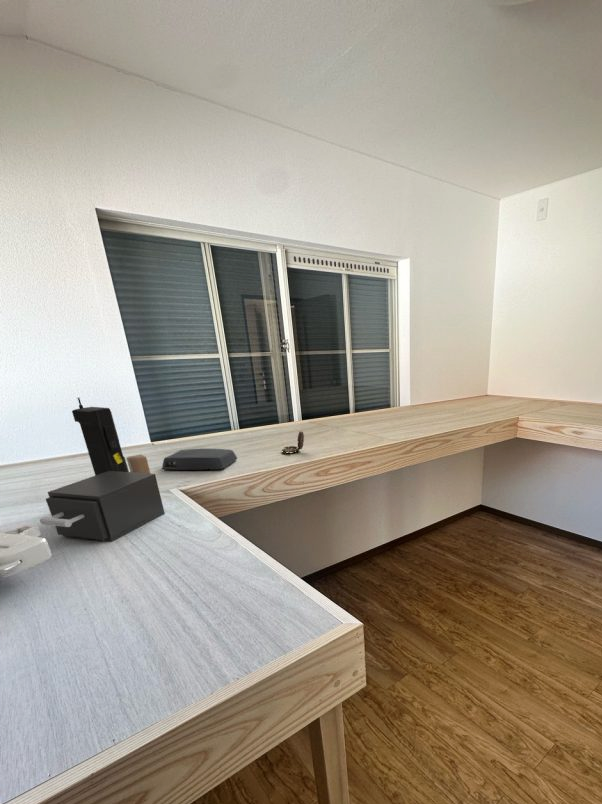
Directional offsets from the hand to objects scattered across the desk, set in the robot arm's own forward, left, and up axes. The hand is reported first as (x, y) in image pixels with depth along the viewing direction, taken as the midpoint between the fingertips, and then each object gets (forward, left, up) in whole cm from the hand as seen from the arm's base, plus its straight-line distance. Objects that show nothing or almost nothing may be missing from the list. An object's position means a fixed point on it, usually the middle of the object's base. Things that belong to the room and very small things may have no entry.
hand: (33, 529), depth 74 cm
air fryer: (0, +16, -6) cm, 17 cm away
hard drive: (-11, +60, -6) cm, 61 cm away
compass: (+11, +80, -6) cm, 81 cm away
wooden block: (-15, +40, -6) cm, 43 cm away
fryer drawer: (0, +12, -5) cm, 13 cm away
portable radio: (-12, +29, -6) cm, 32 cm away
